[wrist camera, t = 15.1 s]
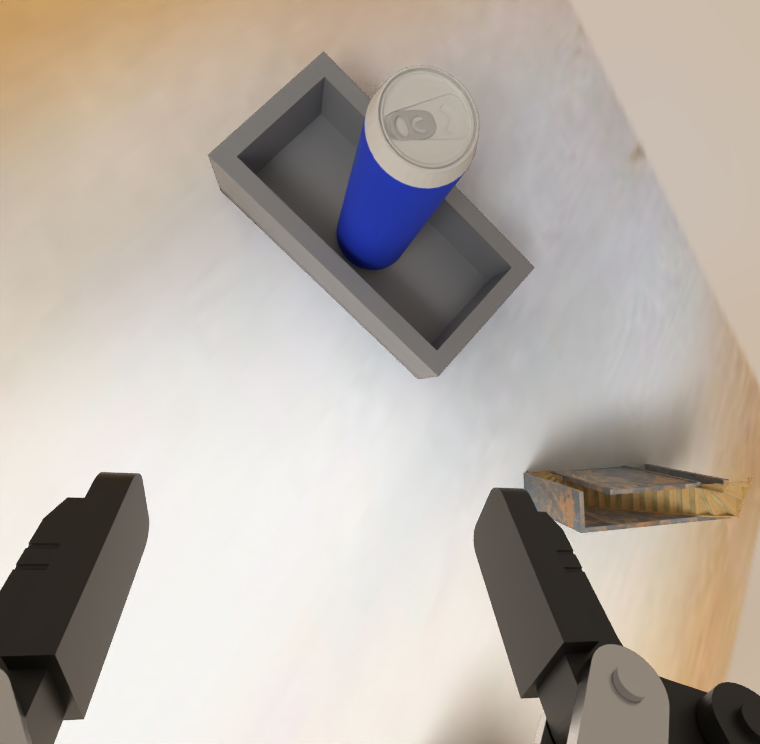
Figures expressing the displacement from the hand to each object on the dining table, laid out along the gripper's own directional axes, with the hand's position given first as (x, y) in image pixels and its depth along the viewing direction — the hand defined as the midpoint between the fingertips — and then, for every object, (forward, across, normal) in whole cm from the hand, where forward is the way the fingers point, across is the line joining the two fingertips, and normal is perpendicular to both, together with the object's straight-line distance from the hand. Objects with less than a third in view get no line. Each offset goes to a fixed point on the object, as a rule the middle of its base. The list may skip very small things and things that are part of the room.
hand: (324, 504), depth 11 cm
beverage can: (+27, -4, +2) cm, 27 cm away
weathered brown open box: (+17, -23, +17) cm, 33 cm away
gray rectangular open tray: (+27, -4, +2) cm, 28 cm away
